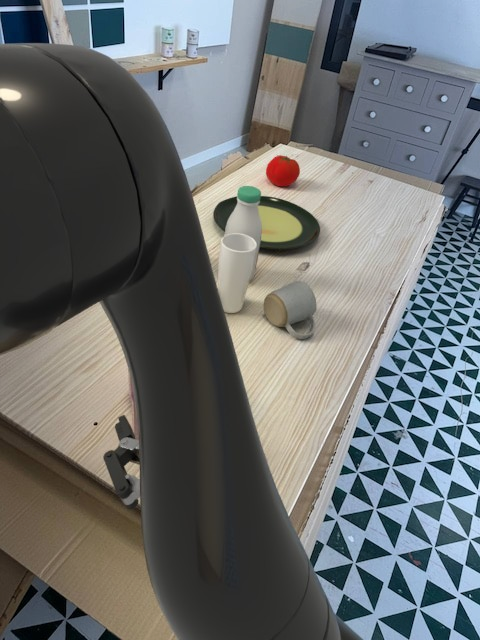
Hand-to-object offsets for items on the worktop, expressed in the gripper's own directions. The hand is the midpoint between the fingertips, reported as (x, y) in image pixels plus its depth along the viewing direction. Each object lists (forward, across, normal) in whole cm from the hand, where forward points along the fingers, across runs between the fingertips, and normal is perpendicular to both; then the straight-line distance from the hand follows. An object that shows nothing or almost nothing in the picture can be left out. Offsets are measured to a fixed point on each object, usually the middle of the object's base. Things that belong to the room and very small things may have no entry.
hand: (159, 402), depth 52 cm
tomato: (+87, -62, +16) cm, 108 cm away
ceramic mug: (+29, -30, +21) cm, 46 cm away
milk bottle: (+46, -27, +15) cm, 56 cm away
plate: (+64, -44, +16) cm, 79 cm away
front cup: (+11, +3, +15) cm, 19 cm away
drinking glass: (+37, -21, +16) cm, 45 cm away
